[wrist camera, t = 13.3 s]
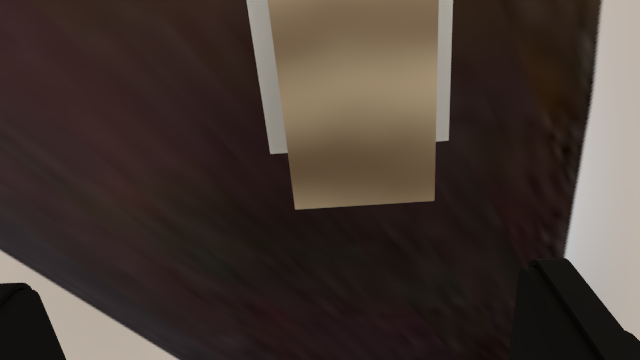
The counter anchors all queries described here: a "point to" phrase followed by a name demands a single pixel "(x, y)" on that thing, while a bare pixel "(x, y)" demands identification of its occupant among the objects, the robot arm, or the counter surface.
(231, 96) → the counter surface
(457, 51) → the counter surface
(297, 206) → the oak shelf board
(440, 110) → the peg stand
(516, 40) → the counter surface
